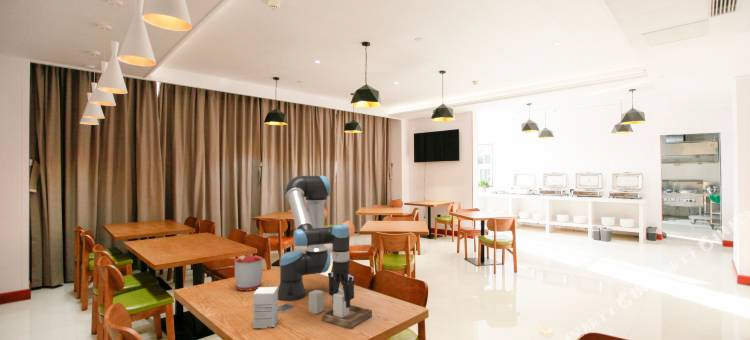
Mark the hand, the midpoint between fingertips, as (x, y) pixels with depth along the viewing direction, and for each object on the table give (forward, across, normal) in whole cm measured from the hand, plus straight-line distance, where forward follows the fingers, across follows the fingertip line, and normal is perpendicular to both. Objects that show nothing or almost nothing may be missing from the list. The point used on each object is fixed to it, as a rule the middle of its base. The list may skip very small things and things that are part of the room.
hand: (341, 313), depth 154 cm
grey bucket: (+4, -76, +7) cm, 76 cm away
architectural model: (+4, -17, +19) cm, 26 cm away
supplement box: (+4, -26, -20) cm, 33 cm away
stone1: (+1, 0, 0) cm, 1 cm away
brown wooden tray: (+4, 0, +4) cm, 5 cm away
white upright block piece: (+4, -18, +3) cm, 19 cm away
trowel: (+4, -33, -7) cm, 34 cm away
